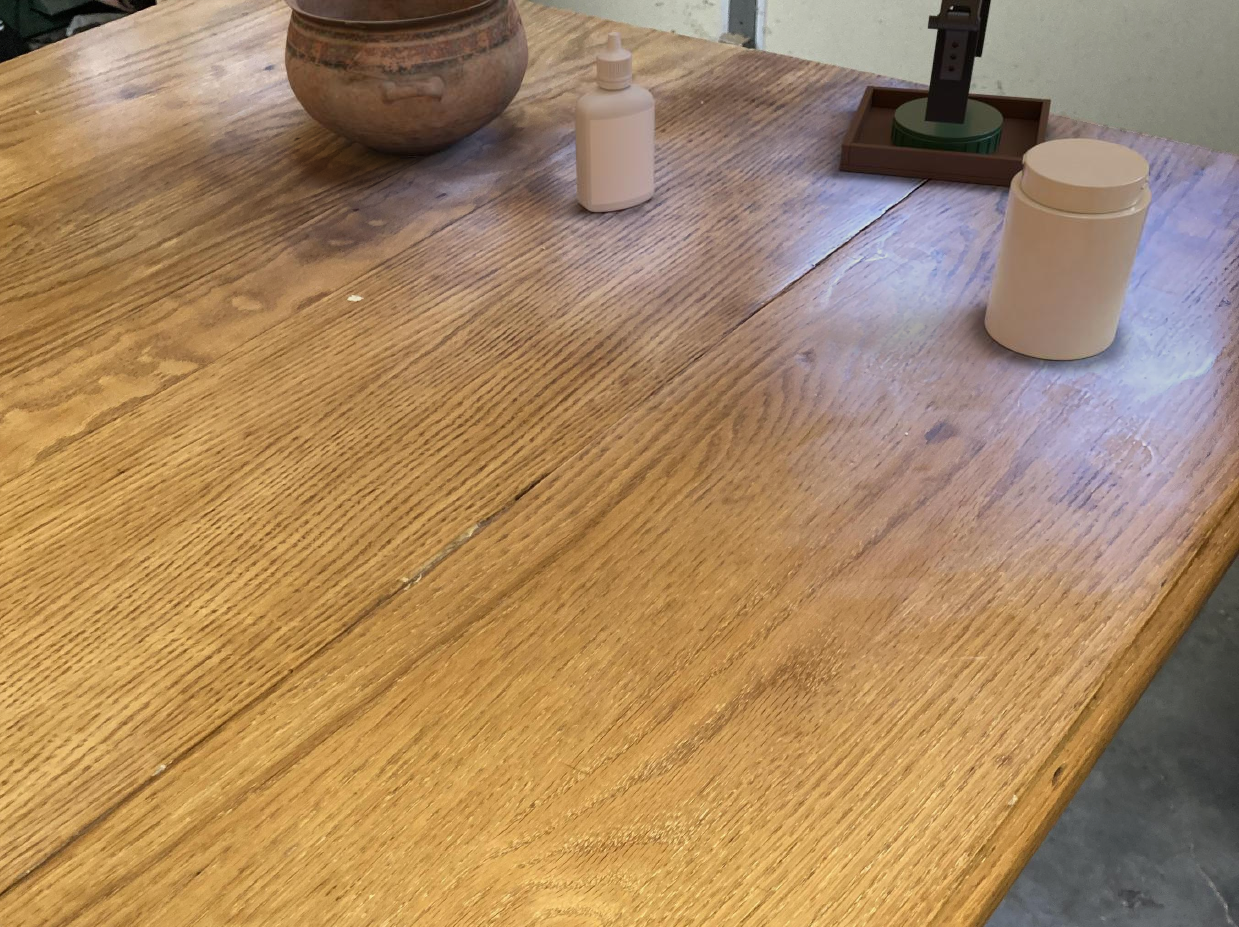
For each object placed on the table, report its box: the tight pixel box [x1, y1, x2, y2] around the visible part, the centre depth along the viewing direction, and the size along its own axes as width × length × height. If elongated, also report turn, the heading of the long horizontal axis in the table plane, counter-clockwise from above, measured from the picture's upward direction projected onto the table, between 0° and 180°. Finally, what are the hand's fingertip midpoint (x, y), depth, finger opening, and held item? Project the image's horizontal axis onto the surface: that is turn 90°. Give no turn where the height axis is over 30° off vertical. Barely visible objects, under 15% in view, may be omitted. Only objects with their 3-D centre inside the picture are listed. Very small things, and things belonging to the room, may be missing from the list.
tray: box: [839, 85, 1052, 187], centre depth 101 cm, size 14×12×2 cm
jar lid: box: [891, 98, 1003, 155], centre depth 101 cm, size 8×8×2 cm
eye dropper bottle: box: [574, 31, 656, 213], centre depth 93 cm, size 4×6×12 cm
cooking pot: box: [284, 0, 529, 158], centre depth 103 cm, size 25×19×12 cm
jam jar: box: [984, 137, 1153, 361], centre depth 77 cm, size 8×8×11 cm
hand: (954, 86), depth 99 cm, fingers open, 13 cm apart
